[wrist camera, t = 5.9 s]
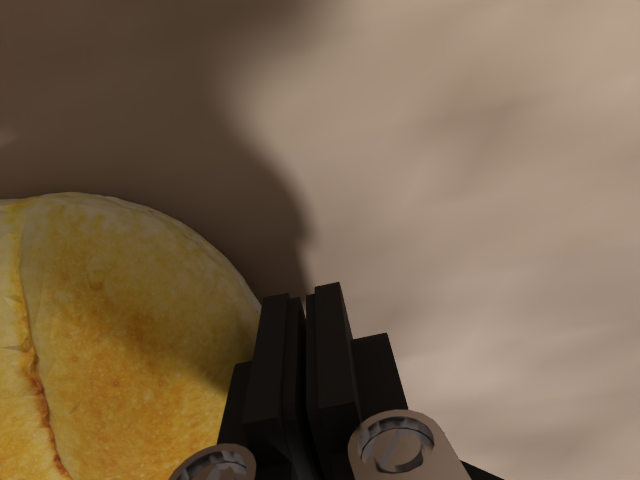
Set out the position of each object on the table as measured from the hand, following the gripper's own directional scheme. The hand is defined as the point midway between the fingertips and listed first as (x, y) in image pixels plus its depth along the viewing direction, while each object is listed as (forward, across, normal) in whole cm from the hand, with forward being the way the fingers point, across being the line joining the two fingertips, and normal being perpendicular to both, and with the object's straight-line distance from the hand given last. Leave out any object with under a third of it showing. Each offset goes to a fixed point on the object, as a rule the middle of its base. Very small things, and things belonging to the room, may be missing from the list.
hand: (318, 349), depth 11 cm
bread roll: (+2, +6, 0) cm, 6 cm away
